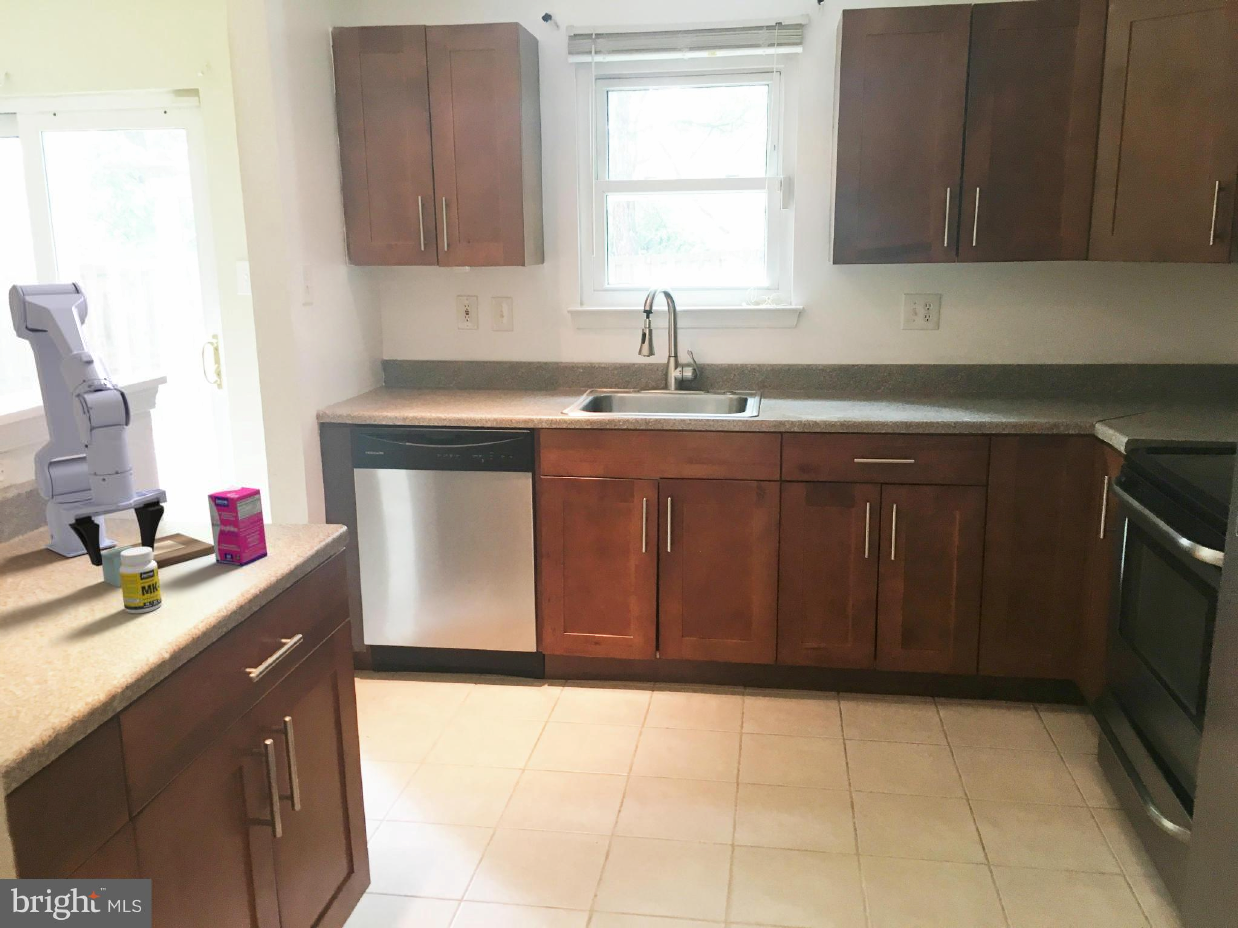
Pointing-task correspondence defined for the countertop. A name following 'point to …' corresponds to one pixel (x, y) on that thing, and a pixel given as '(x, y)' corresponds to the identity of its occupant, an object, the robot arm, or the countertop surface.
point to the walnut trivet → (177, 549)
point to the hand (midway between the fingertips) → (123, 557)
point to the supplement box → (237, 525)
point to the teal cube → (112, 565)
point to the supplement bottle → (139, 580)
